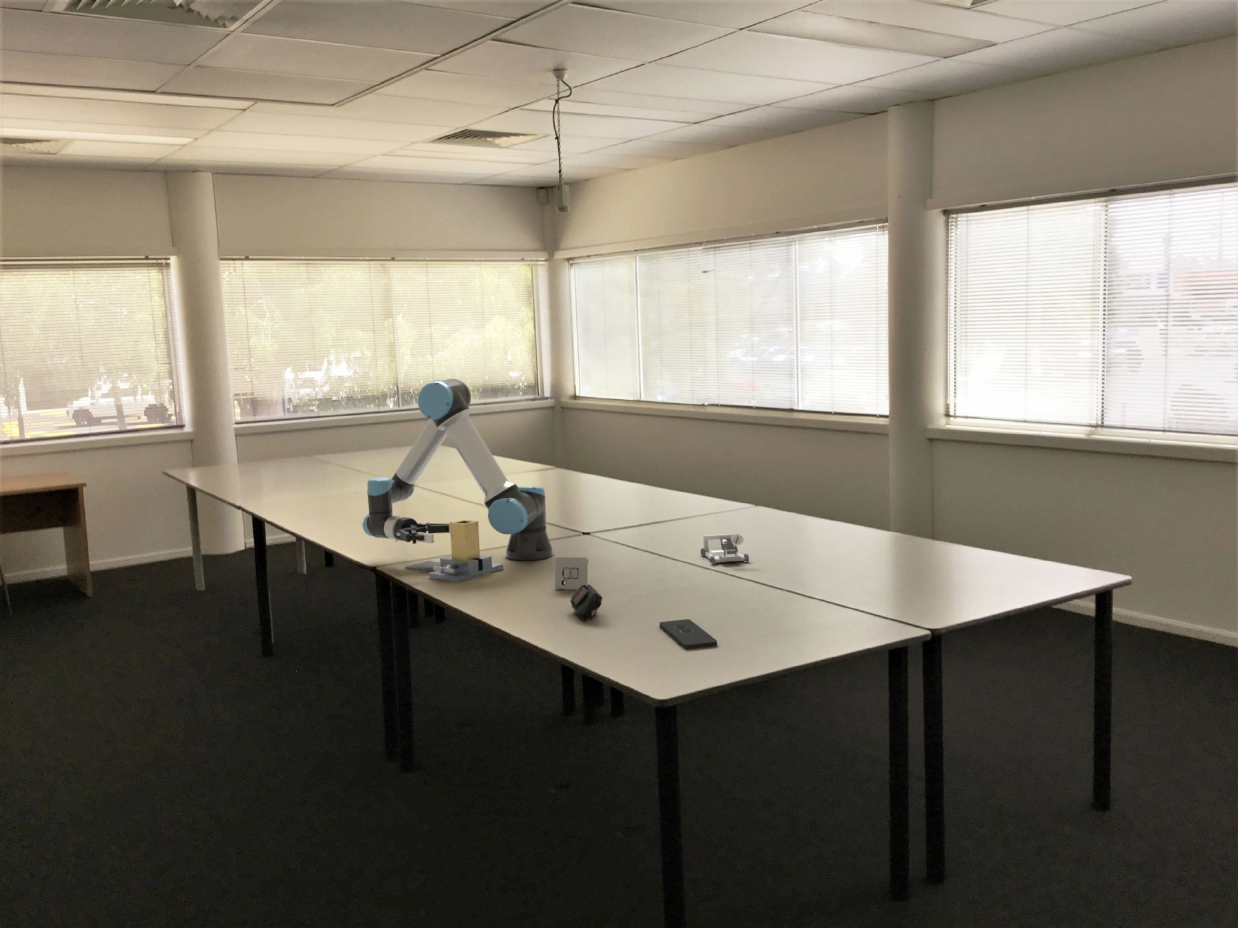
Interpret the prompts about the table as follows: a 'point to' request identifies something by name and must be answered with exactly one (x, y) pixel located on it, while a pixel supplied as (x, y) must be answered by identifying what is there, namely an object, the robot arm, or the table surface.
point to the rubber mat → (424, 566)
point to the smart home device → (688, 634)
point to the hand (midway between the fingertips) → (449, 534)
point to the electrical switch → (571, 572)
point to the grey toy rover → (723, 548)
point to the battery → (586, 601)
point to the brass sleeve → (465, 539)
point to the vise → (464, 568)
